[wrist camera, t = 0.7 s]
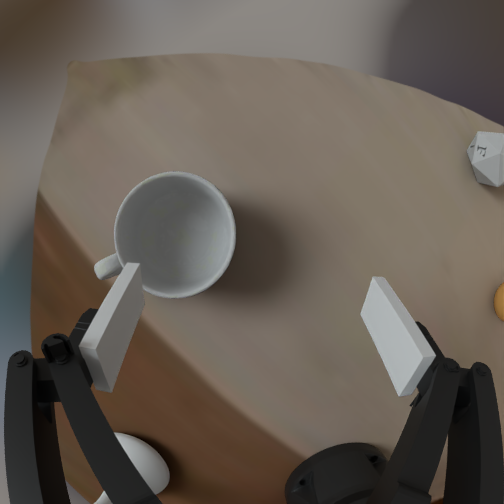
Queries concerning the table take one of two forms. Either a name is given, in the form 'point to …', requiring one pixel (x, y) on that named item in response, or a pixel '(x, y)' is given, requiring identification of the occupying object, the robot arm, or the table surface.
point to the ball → (499, 302)
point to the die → (488, 158)
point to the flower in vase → (143, 464)
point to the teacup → (173, 235)
